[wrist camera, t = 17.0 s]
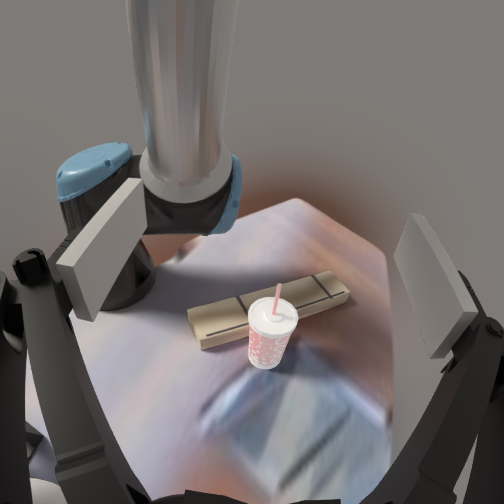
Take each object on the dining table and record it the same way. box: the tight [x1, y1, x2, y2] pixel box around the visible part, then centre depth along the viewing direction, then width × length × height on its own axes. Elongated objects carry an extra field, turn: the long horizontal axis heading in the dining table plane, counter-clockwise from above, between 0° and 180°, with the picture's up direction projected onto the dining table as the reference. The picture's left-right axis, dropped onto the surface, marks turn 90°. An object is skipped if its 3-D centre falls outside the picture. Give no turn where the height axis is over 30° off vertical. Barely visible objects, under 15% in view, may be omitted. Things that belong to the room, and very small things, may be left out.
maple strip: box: [187, 270, 350, 350], centre depth 49 cm, size 6×26×3 cm, turn 115°
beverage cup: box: [248, 283, 298, 369], centre depth 39 cm, size 6×6×14 cm
